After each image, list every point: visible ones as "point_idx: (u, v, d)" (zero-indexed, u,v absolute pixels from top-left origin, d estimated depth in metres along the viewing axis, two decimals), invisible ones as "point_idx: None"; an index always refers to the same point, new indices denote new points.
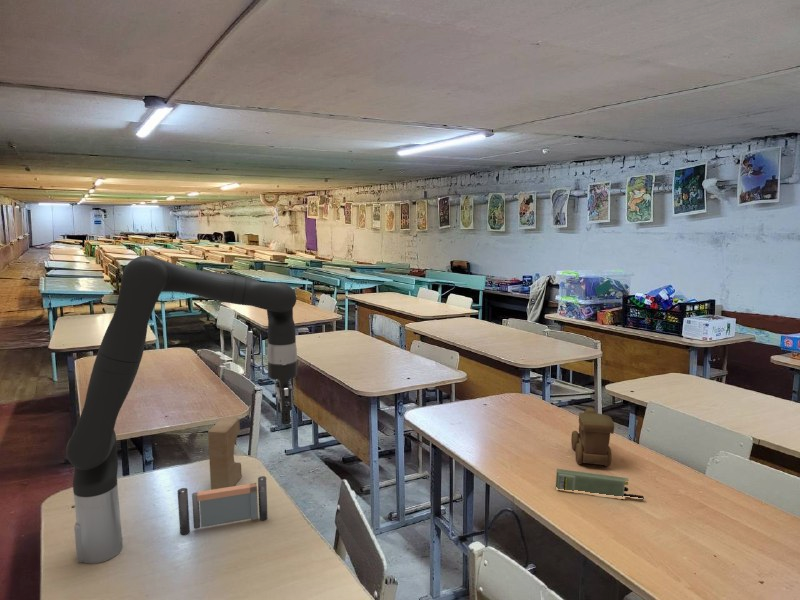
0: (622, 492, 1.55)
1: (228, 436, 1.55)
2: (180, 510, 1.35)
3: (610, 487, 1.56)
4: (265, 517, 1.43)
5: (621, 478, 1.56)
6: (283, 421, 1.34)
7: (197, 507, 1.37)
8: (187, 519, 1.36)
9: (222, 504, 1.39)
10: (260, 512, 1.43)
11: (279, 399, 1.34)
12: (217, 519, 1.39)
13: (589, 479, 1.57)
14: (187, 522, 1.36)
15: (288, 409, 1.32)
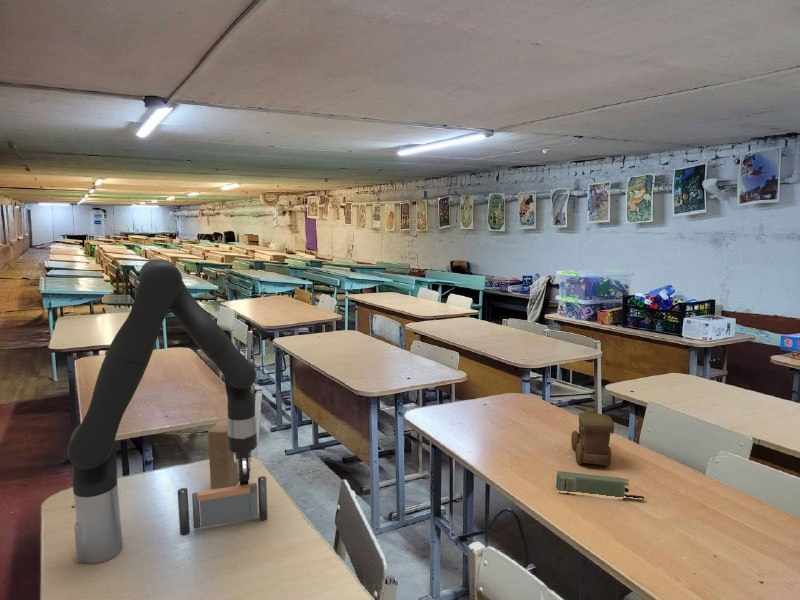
0: (623, 493, 1.55)
1: None
2: (180, 510, 1.35)
3: (611, 488, 1.55)
4: (265, 517, 1.43)
5: (622, 479, 1.55)
6: None
7: (197, 507, 1.37)
8: (187, 519, 1.36)
9: (222, 504, 1.39)
10: (260, 512, 1.43)
11: (238, 471, 1.41)
12: (218, 519, 1.39)
13: (590, 480, 1.56)
14: (187, 522, 1.36)
15: (246, 479, 1.41)
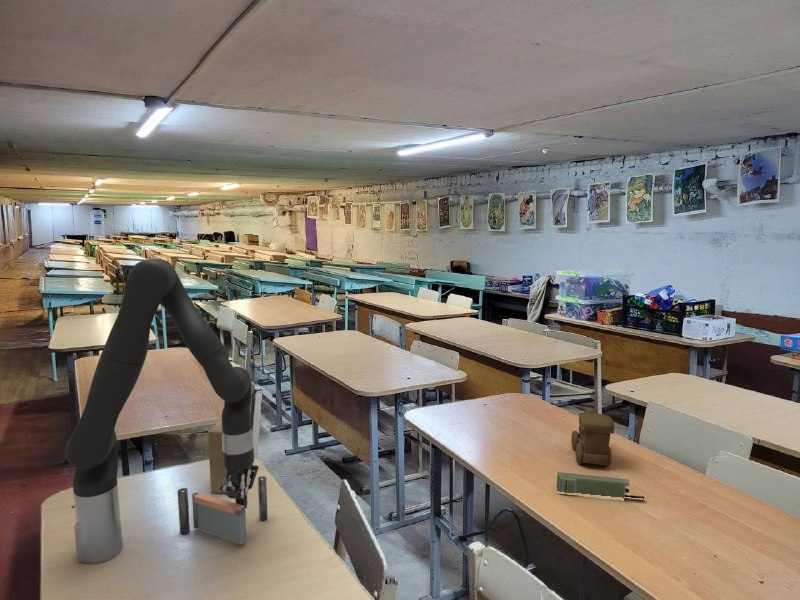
0: (623, 493, 1.55)
1: None
2: (180, 510, 1.35)
3: (611, 489, 1.55)
4: (265, 517, 1.43)
5: (622, 479, 1.55)
6: None
7: (195, 508, 1.36)
8: (187, 519, 1.36)
9: (213, 514, 1.34)
10: (260, 512, 1.43)
11: (231, 487, 1.33)
12: (210, 528, 1.35)
13: (591, 481, 1.56)
14: (187, 522, 1.36)
15: (234, 497, 1.31)
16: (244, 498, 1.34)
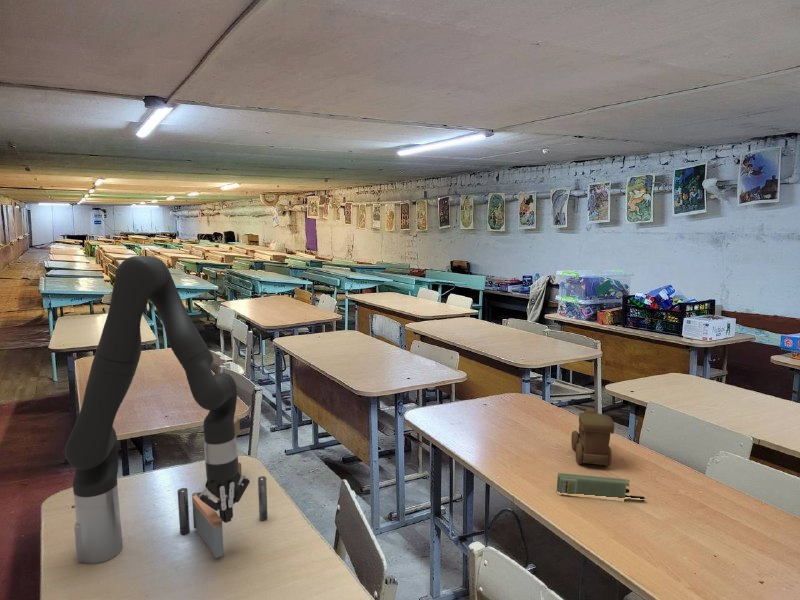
0: (624, 494, 1.55)
1: None
2: (180, 510, 1.35)
3: (612, 489, 1.55)
4: (265, 517, 1.43)
5: (622, 480, 1.55)
6: None
7: (193, 507, 1.36)
8: (187, 519, 1.36)
9: (202, 519, 1.32)
10: (260, 512, 1.43)
11: None
12: (201, 532, 1.34)
13: (591, 482, 1.56)
14: (187, 522, 1.36)
15: None
16: (227, 510, 1.28)
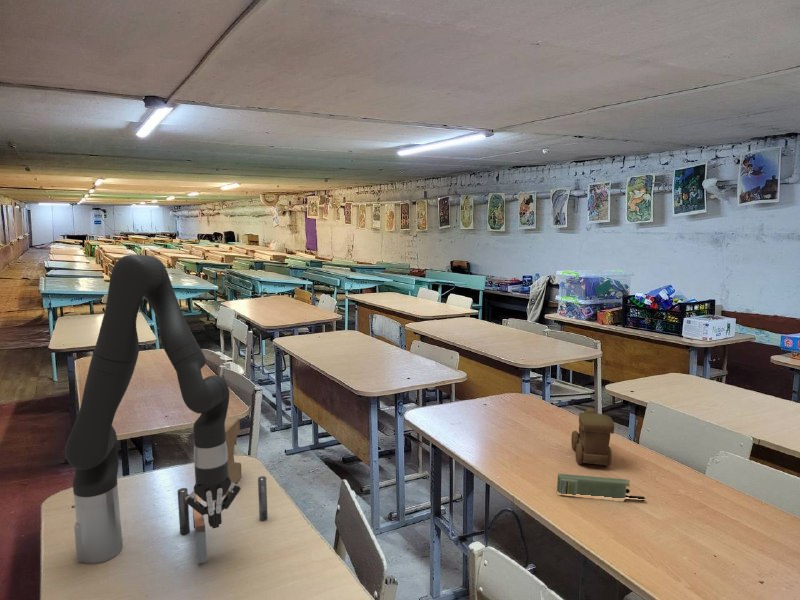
0: (624, 494, 1.54)
1: (228, 436, 1.55)
2: (180, 510, 1.35)
3: (612, 490, 1.55)
4: (265, 517, 1.43)
5: (622, 480, 1.55)
6: None
7: None
8: (187, 519, 1.36)
9: None
10: (260, 512, 1.43)
11: None
12: None
13: (591, 482, 1.55)
14: (187, 522, 1.36)
15: None
16: (214, 516, 1.26)
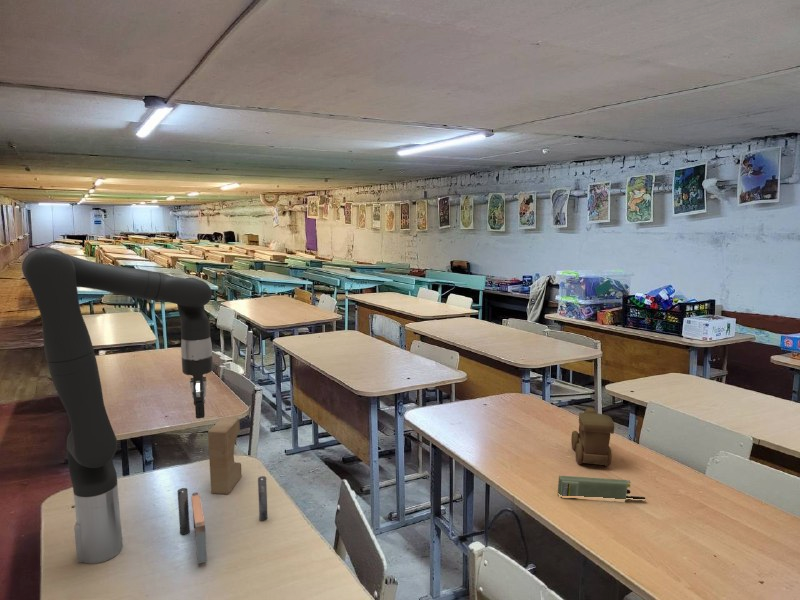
0: (625, 495, 1.54)
1: (228, 436, 1.55)
2: (180, 510, 1.35)
3: (613, 491, 1.54)
4: (265, 517, 1.43)
5: (623, 481, 1.54)
6: (197, 415, 1.38)
7: None
8: (187, 519, 1.36)
9: None
10: (260, 512, 1.43)
11: (193, 395, 1.37)
12: None
13: (592, 484, 1.54)
14: (187, 522, 1.36)
15: (200, 403, 1.36)
16: None
